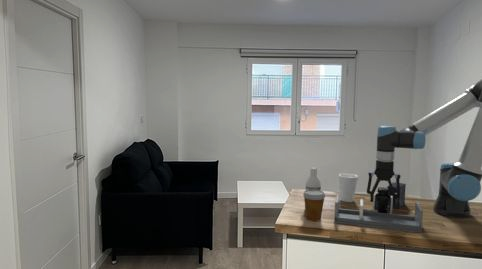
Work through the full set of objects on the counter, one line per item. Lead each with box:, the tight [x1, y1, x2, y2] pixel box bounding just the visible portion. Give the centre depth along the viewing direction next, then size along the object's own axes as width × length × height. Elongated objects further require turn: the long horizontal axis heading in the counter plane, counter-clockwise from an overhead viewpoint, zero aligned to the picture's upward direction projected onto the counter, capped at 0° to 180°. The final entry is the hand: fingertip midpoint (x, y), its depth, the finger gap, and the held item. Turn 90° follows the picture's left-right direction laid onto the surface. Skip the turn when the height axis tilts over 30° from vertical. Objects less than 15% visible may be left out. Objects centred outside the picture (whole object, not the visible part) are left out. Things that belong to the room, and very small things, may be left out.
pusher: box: [359, 198, 378, 219], centre depth 161 cm, size 7×10×7 cm
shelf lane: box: [333, 194, 424, 234], centre depth 160 cm, size 34×14×9 cm, turn 72°
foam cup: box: [337, 172, 359, 203], centre depth 191 cm, size 10×9×13 cm
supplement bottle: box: [374, 186, 391, 214], centre depth 170 cm, size 7×7×12 cm
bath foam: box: [305, 166, 322, 191], centre depth 175 cm, size 7×7×20 cm
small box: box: [386, 181, 407, 210], centre depth 183 cm, size 11×6×10 cm, turn 143°
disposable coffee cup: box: [302, 189, 326, 222], centre depth 163 cm, size 10×10×12 cm
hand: (382, 209), depth 171 cm, fingers closed on supplement bottle, 7 cm apart
